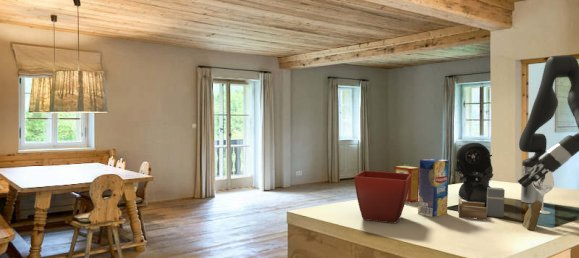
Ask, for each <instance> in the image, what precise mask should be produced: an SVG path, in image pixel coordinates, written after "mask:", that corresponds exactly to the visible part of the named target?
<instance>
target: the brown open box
mask: <svg viewBox="0 0 579 258" xmlns="http://www.w3.org/2000/svg"><path fill="white" fill-rule="evenodd" d="M457 203H458V204H457V205H458V208H457V212H458V213H459V214H458V213H457V214H458V218H462V217H466V218H465V219H473V218H477V219H476V220H483V219H486V220H487V217H488V216H487V208H486V207H485V205H486V204H485V203H480V202H468V201H466V200H462V198H458V202H457Z"/></svg>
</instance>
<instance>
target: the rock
mask: <svg viewBox="0 0 579 258" xmlns="http://www.w3.org/2000/svg"><path fill="white" fill-rule="evenodd" d="M529 205H530V206H529V207H528V210H526V212H525V214H524V217H523V219H524V220H523V223H522V226H523V227H524V228H526V229H527V230H531V231H536V227H537V225H538V220H539V217H540V215H541V213H540V210H541V207H542V203H541V202H540V201H538V200H537V201H534V202H533V203H531V204H529Z"/></svg>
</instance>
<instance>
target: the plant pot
mask: <svg viewBox="0 0 579 258" xmlns="http://www.w3.org/2000/svg"><path fill="white" fill-rule="evenodd" d="M353 178H354V186H355V192H356V198H357V202H358V207H359V211H360V215H361V217H362V219H363V220H365V221H374V222H382V223H392V224H397V223H398V221H399V220H400V218H401V216H402V215H403V210H404V208H405V204H406V202H405V201H406V198H407V194H408V190H409V185H410V179H411V174H403V173H394V172H389V171H388V172H387V171H375V170H373V171H372V170H362V171H360V172H359V173H357V174H355V175H354V177H353Z"/></svg>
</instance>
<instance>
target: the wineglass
mask: <svg viewBox="0 0 579 258" xmlns="http://www.w3.org/2000/svg"><path fill="white" fill-rule="evenodd" d="M547 171H548V173H546V174H545V175H544V176H543V177H542V178H540V179H539V180H538V181H536V182H533V183H532V184H533V187H534V188H535V189H536V190H537V191H538V192H539V193H540V194H541V196H542V200H541V203H542V207H541V210H540V215H541V214H542V215H550V214H551V211H547V210H544V201H545V199H544V197H545V195H546V194H548V193H549V192H551V191H552V190H553V189H554V188H555V179H554V175H553V172H550V171H549V170H547Z"/></svg>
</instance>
